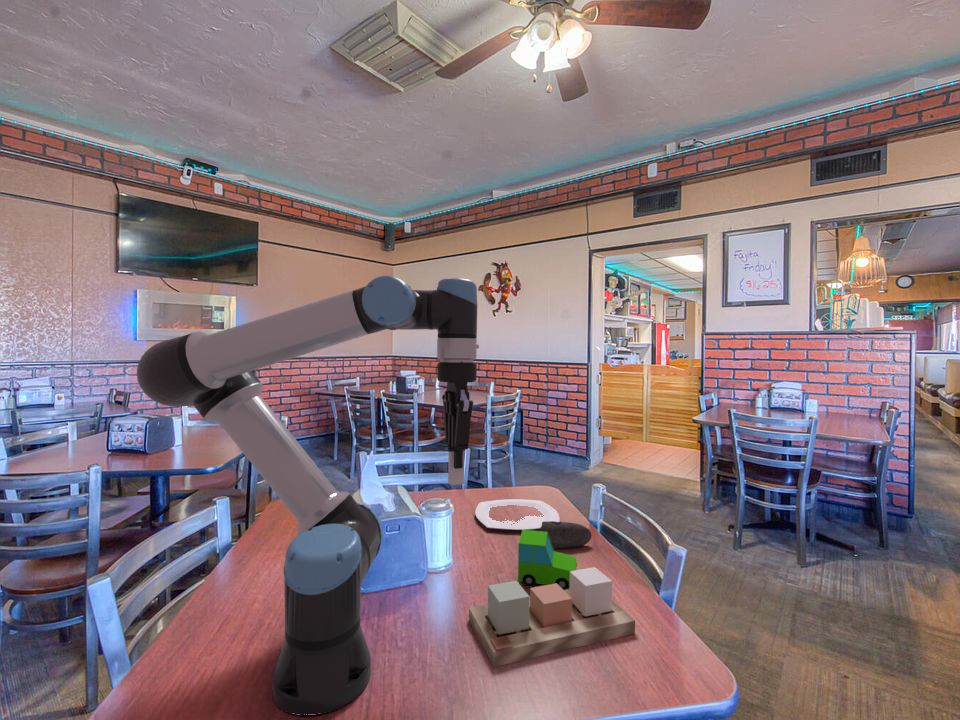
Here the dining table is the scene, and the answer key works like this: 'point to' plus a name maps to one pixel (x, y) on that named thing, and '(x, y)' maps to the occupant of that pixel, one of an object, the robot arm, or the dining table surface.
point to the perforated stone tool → (566, 534)
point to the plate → (524, 524)
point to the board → (548, 634)
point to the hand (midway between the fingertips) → (456, 483)
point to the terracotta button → (550, 605)
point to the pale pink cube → (590, 591)
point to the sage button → (508, 607)
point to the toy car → (542, 561)
